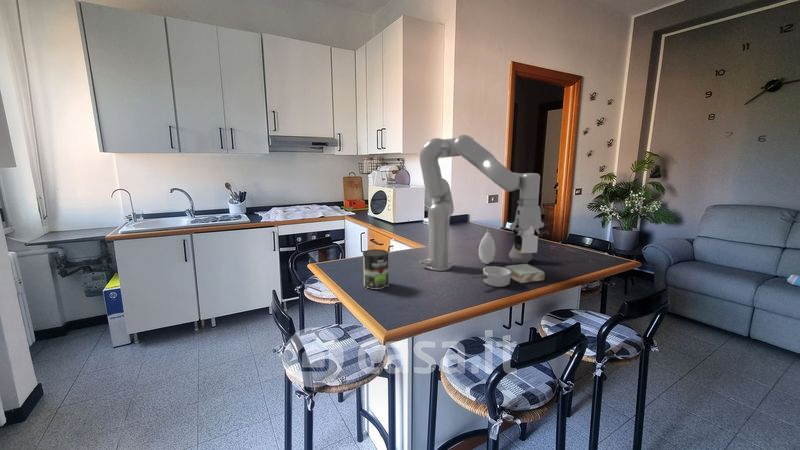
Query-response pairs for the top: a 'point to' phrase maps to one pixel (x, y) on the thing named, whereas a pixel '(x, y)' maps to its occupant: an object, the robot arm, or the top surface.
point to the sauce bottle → (487, 249)
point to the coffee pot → (521, 254)
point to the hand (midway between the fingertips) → (525, 243)
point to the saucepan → (495, 276)
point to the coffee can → (375, 268)
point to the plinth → (525, 273)
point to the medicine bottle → (527, 242)
